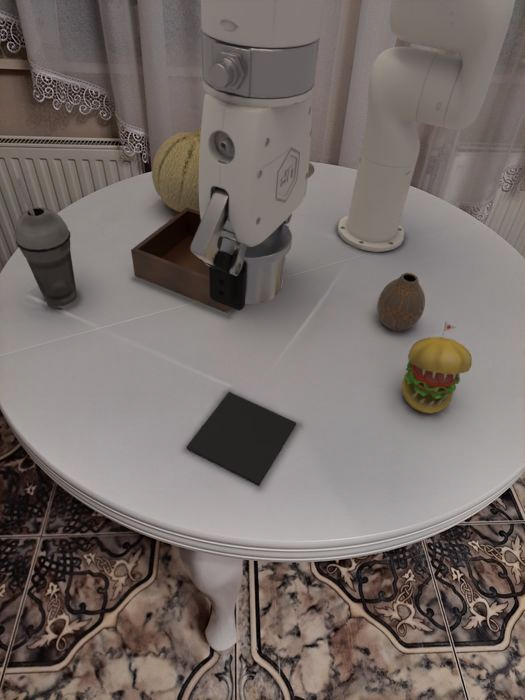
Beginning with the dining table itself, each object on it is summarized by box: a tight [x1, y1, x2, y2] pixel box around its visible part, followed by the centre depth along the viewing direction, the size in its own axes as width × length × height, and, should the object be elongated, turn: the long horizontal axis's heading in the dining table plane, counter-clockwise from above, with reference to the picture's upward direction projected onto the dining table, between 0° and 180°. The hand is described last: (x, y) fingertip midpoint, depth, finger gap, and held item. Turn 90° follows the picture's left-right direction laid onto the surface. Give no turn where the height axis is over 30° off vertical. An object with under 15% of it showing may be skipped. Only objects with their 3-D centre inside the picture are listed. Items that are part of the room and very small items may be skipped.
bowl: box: [220, 221, 293, 305], centre depth 44 cm, size 7×7×5 cm
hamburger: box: [401, 321, 473, 414], centre depth 65 cm, size 8×7×12 cm
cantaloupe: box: [151, 127, 201, 213], centre depth 95 cm, size 15×15×15 cm
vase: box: [376, 272, 426, 331], centre depth 77 cm, size 7×7×9 cm
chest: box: [130, 208, 232, 314], centre depth 84 cm, size 18×16×6 cm
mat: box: [186, 391, 297, 487], centre depth 63 cm, size 10×10×1 cm
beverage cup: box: [14, 177, 77, 311], centre depth 72 cm, size 7×7×20 cm
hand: (249, 278), depth 46 cm, fingers closed on bowl, 6 cm apart
